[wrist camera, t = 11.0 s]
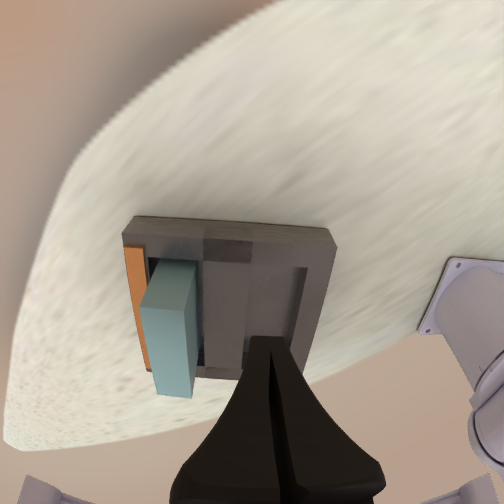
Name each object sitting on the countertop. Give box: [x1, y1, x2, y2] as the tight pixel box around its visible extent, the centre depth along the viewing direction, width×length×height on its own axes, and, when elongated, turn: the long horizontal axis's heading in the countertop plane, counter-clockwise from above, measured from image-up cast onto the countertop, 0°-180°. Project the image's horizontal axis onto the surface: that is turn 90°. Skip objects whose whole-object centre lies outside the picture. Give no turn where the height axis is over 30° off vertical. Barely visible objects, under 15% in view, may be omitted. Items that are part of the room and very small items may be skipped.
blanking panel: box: [139, 258, 200, 399], centre depth 20 cm, size 2×8×6 cm, turn 175°
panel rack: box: [122, 216, 337, 380], centre depth 22 cm, size 13×13×3 cm
